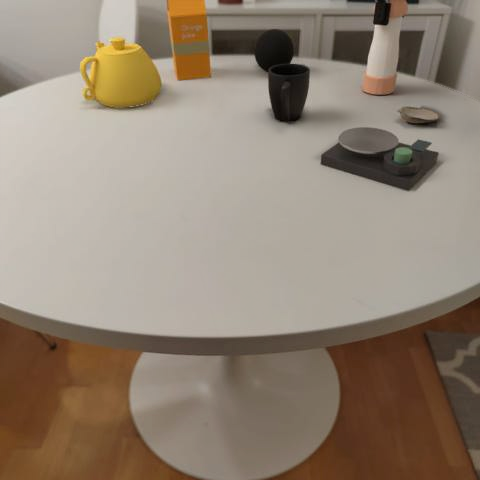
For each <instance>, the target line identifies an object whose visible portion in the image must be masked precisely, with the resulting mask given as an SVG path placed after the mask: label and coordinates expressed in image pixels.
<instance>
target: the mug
mask: <svg viewBox="0 0 480 480" xmlns="http://www.w3.org/2000/svg"><path fill="white" fill-rule="evenodd" d="M267 73H268V75H267V79H268V80H267V83H268V84H267V86H268V87H267V88H268V95H269V102H270V106H271V110H272V113H273V118H274V120H275V121H277V122H282V123H294V122H297V121H299V120H300V119H301V117H302V115H303V111H304V109H305V105H306V101H307V100H308V99H307V98H308V95H309V88H310V79H311V78H310V77H311V69H310V67H309V66H307V65H304V64H299V63H290V64H279V65H275V66H272V67H271V68H269V71H268V72H267Z"/></svg>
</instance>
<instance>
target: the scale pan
mask: <svg viewBox="0 0 480 480" xmlns="http://www.w3.org/2000/svg"><path fill="white" fill-rule="evenodd" d="M337 139H338V140H337V141H338V143H340V144H341V145H342V146H343V147H344V148H346V149H348V150H351V151H354V152H358V153H365V154H380V153H386V152H389V151H392V150H394V149H395V148H396V147H397V146H398V142H399V138H398V137H397V135H396V134H394V133H392V132H391V131H389V130H386V129H382V128H378V127H369V126H363V127H362V126H361V127H360V126H359V127H353V128H348V129H346V130H344V131H342V132H341V133H340V134H339V135H338V138H337ZM399 143H400V142H399ZM432 143H433V142H431V141H427V140H423V139H417V140H416V141H414V142H413V143H412V144H411V146H410V147H409V149H411V150H415V151H419V152H423V151H424V150H428V148H429V147H430V146H431V145H432Z"/></svg>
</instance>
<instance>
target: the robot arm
mask: <svg viewBox="0 0 480 480" xmlns="http://www.w3.org/2000/svg"><path fill="white" fill-rule="evenodd" d="M389 2H390V0H374V5H375V11H373V19H372V24H373V25H374V26H375V25H383V26H386V25H388V23H389V16H390V10H391V3H389ZM406 2H407V3H408V0H406ZM404 17H405V15H404V16H402V19H403V18H404Z"/></svg>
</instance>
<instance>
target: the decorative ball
mask: <svg viewBox="0 0 480 480" xmlns="http://www.w3.org/2000/svg"><path fill="white" fill-rule="evenodd" d="M294 52H295V46H294V43H293V39H292V38H291V37H290V35H289V34H287V32H286V31H283V30H282V29H277V28H273V29H268V30H266V31H264V32H262V33H261V35H260V36H259V37H258V38H257V40H256V42H255V45H254V52H253V53H254V59H255V62H256V64H257V65H258V66H259V68H261V70H263V71H264V72H265V73H268V71H269V68H271V67H272V66H275V65H279V64H292V61H293V58H294Z"/></svg>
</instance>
